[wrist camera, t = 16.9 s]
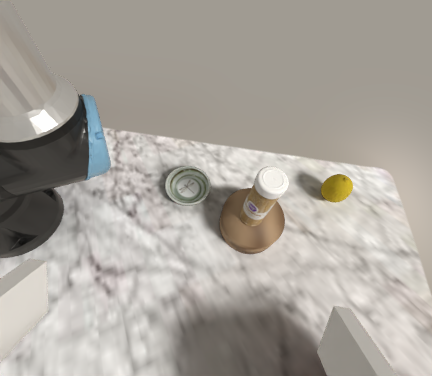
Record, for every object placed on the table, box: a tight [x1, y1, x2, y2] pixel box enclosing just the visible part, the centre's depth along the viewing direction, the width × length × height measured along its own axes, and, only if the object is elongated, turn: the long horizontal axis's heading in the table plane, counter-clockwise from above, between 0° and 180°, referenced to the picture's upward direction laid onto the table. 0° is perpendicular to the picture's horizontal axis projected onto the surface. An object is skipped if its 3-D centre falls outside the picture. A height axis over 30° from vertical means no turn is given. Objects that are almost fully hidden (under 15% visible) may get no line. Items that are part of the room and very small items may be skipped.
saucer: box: [165, 166, 211, 206], centre depth 50 cm, size 10×10×2 cm
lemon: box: [321, 174, 353, 202], centre depth 50 cm, size 6×6×8 cm
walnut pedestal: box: [219, 188, 285, 254], centre depth 46 cm, size 12×12×5 cm
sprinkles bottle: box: [240, 167, 289, 226], centre depth 38 cm, size 5×5×14 cm
